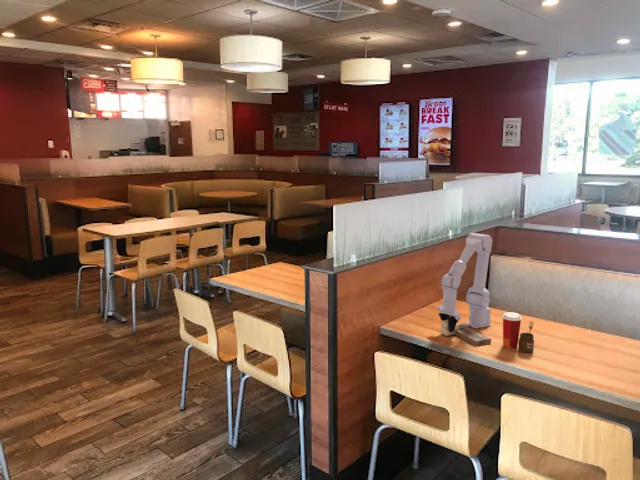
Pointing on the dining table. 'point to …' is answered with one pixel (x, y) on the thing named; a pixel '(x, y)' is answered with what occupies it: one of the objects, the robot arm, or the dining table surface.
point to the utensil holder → (526, 341)
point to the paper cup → (511, 329)
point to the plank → (472, 336)
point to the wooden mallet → (446, 327)
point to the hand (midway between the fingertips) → (448, 330)
